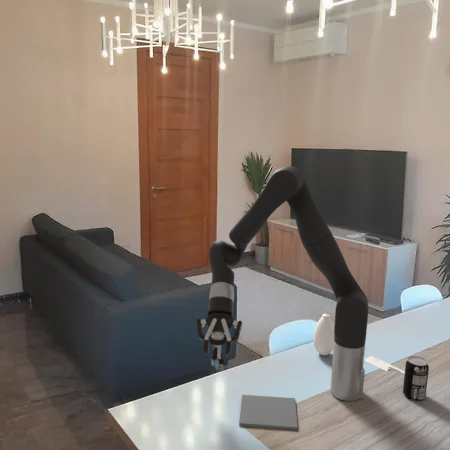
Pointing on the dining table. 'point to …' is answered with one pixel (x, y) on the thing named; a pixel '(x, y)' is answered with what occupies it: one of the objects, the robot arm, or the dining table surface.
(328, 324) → the sauce bottle
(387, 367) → the white plastic strip tool
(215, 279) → the robot arm
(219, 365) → the push button
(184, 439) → the dining table surface
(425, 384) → the beverage can
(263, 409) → the rubber mat
